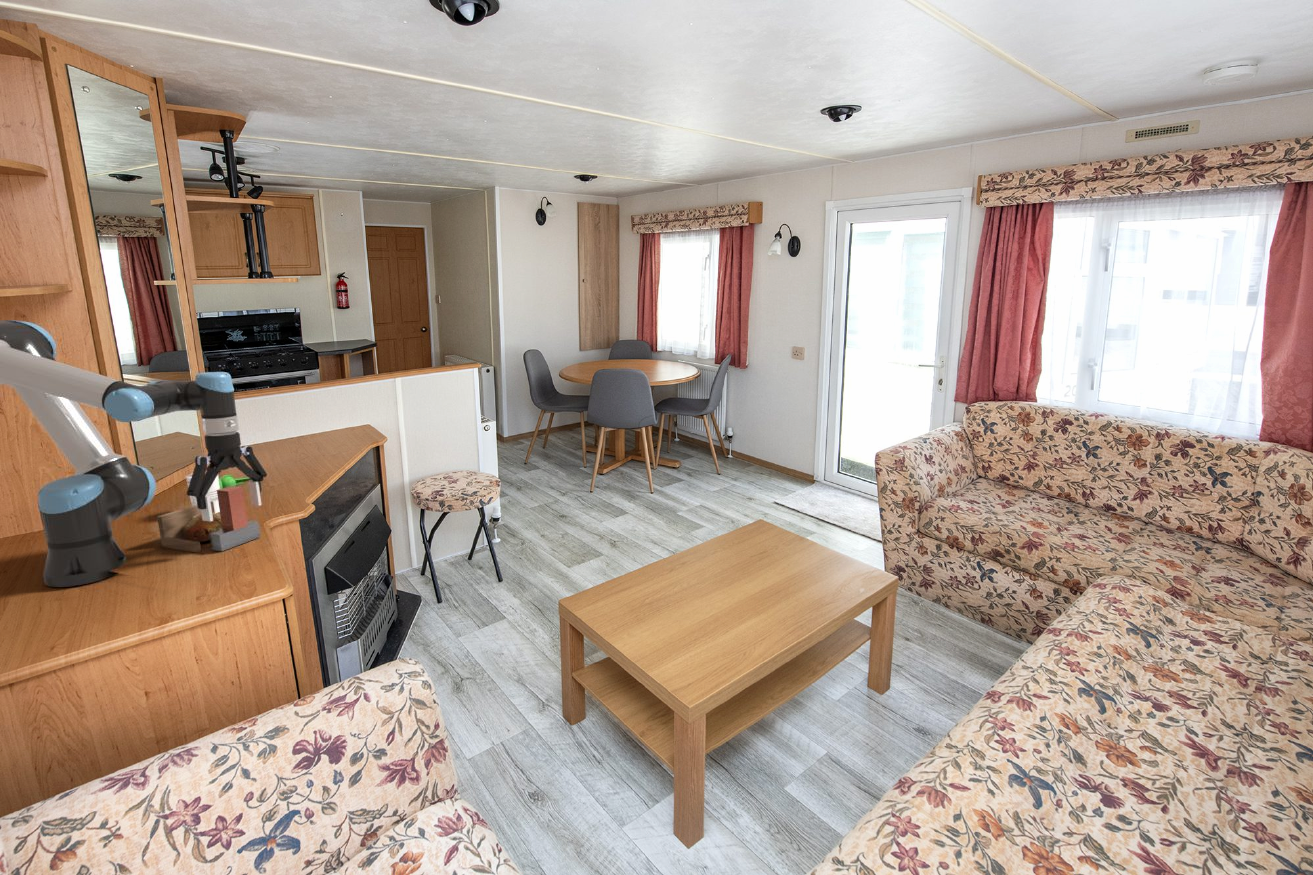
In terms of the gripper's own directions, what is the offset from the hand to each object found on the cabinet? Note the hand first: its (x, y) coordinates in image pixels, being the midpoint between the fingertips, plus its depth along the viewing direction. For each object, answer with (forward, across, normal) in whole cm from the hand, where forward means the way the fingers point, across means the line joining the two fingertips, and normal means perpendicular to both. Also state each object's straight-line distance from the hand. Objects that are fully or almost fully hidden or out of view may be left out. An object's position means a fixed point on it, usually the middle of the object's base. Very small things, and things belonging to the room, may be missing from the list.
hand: (233, 512), depth 167 cm
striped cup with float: (+9, +17, +34) cm, 39 cm away
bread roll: (+9, 0, +10) cm, 13 cm away
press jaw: (+9, 0, 0) cm, 9 cm away
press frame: (+9, 0, +10) cm, 14 cm away
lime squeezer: (+9, +34, +45) cm, 58 cm away
